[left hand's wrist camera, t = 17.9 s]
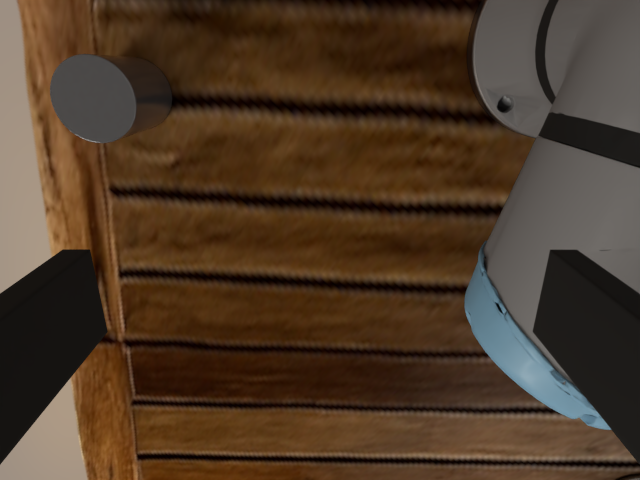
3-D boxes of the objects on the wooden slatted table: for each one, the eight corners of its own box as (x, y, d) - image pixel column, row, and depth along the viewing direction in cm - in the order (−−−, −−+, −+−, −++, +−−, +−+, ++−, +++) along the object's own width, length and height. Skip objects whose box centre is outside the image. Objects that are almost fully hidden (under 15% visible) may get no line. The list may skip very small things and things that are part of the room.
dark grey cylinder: (167, 57, 37) (128, 53, 29) (176, 129, 39) (142, 143, 31) (97, 57, 37) (40, 53, 29) (110, 129, 39) (60, 143, 31)
